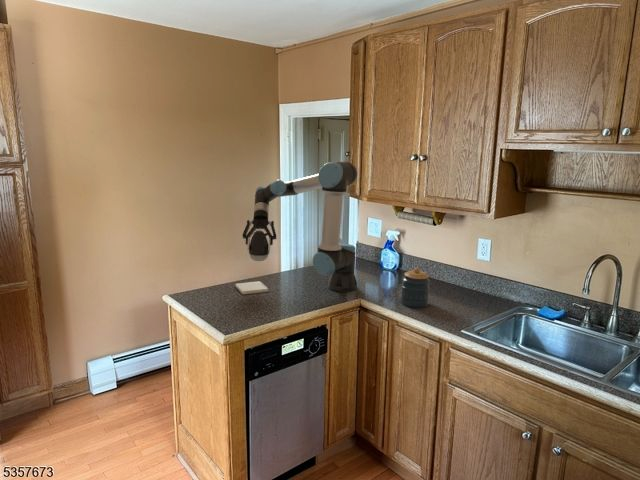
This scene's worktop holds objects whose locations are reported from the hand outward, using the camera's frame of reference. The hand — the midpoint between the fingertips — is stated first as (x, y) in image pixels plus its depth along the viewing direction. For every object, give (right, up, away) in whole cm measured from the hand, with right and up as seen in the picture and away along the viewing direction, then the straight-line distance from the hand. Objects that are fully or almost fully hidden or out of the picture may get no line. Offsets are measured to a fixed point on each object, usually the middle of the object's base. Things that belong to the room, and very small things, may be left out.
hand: (258, 250), depth 219 cm
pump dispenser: (0, -5, +4) cm, 7 cm away
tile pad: (-4, -20, +4) cm, 21 cm away
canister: (+75, -25, -8) cm, 80 cm away
